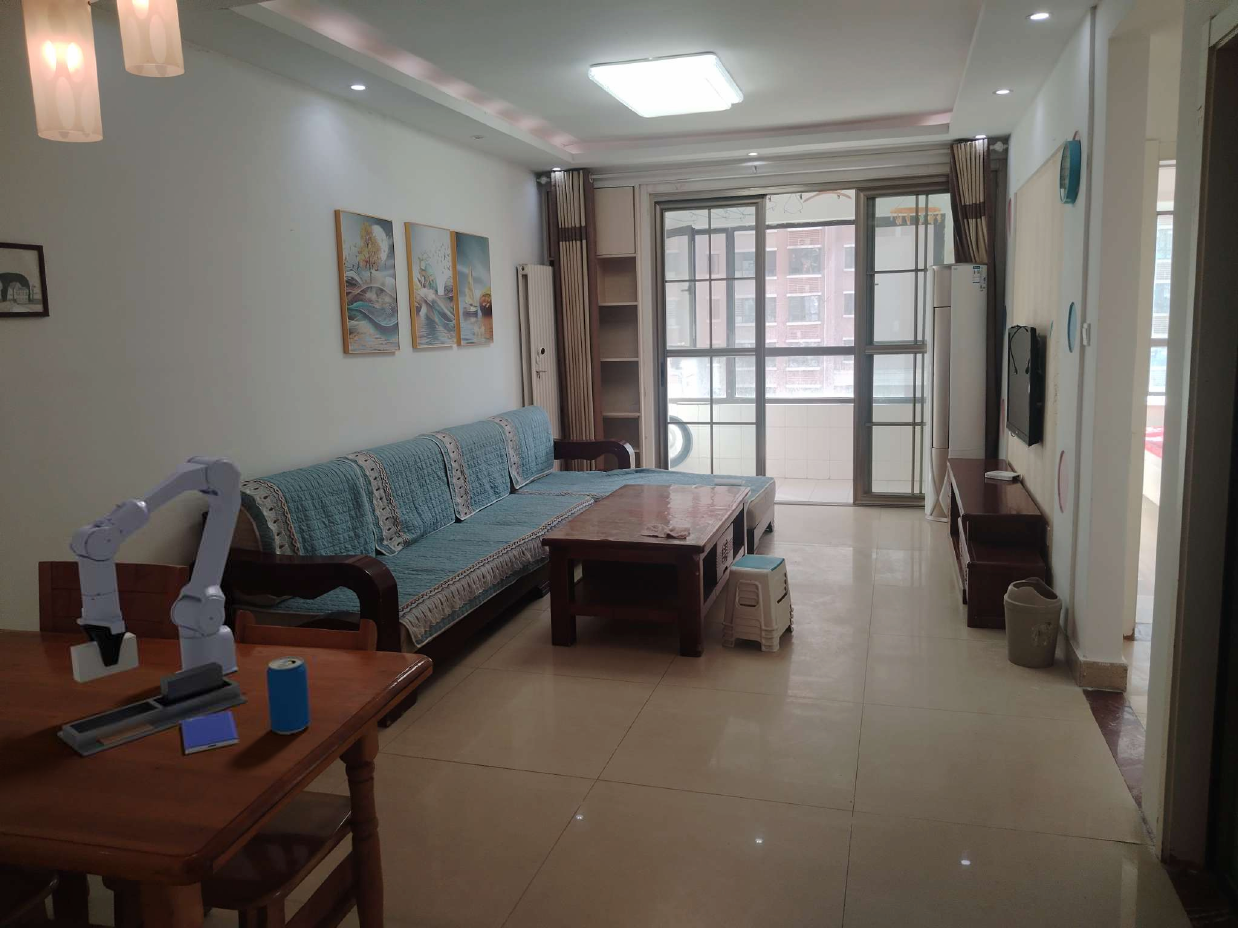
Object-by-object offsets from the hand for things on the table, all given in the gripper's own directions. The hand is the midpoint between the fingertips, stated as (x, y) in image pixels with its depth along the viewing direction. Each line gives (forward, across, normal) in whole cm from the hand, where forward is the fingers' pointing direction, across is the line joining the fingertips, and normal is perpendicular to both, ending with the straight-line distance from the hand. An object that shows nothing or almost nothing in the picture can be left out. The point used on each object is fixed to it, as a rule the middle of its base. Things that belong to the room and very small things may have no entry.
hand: (107, 662), depth 167 cm
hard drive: (+9, +26, +6) cm, 28 cm away
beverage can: (+9, +35, +16) cm, 39 cm away
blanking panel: (+2, 0, 0) cm, 2 cm away
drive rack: (+8, +12, +3) cm, 15 cm away
